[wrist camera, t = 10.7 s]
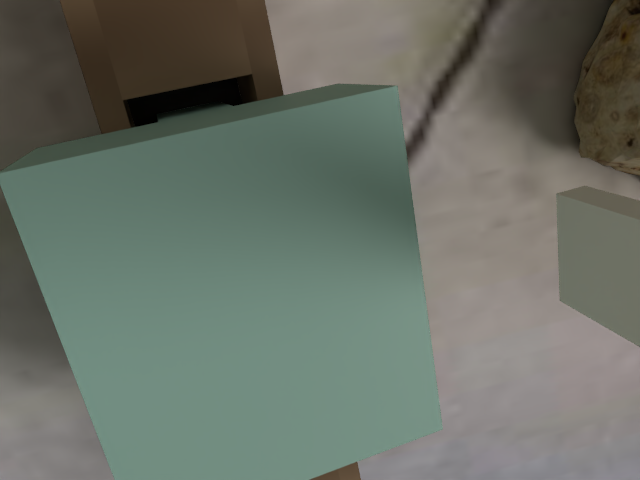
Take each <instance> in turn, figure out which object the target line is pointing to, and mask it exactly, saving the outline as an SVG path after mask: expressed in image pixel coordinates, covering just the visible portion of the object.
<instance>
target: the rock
mask: <svg viewBox="0 0 640 480" xmlns="http://www.w3.org/2000/svg"><path fill="white" fill-rule="evenodd" d="M573 99H574V101H575V104H576V107H577V108H576V114H575V120H574V123H575V126H576V128H577V131H578V134H579V137H580V147H579V153H580V156H581V157H586V158H591V159H592V160H594V161H596V162H598V163H600V164H602V165H604V166H611V167H612V168H614V169H615V170H619V171H622V172H626V173H630V174H635V175H639V176H640V0H614V1H613V3H612V5H611V6H610V8H609V10H608V13H607V16H606V19H605V21H604V24H603V27H602V29H601V31H600V33H599V35H598V37H597V38H596V40H595V42H594V43H593V45H592V46H591V48H590V50H589V51H588V53H587V55H586V57H585V58H584V60H583V64H582V68H581V73H580V78H579V81H578V85H577V88H576V91H575V94H574V98H573Z"/></svg>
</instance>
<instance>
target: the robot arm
mask: <svg viewBox="0 0 640 480" xmlns="http://www.w3.org/2000/svg"><path fill="white" fill-rule="evenodd" d="M556 198H557V229H558V260H559V290H560V301H561V302H563V303H565V304H567V305H568V306H570V307H572V308H574V309H575V310H577V311H579V312H580V313H582V314H584V315H586V316H587V317H589V318H591V319H593V320H594V321H596V322H598V323H599V324H601V325H603V326H605V327H606V328H608V329H610V330H612V331H613V332H615V333H617V334H618V335H620V336H622V337H624V338H625V339H627V340H629V341H631V342H632V343H634V344H636V345H637V346H639V347H640V201H638V200H634V199H631V198H627V197H624V196H620V195H616V194H613V193H609V192H606V191H602V190H598V189H595V188H591V187H587V186H582V187H579V188H575V189H572V190H568V191H564V192H561V193H557V194H556Z"/></svg>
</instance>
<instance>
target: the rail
mask: <svg viewBox="0 0 640 480" xmlns="http://www.w3.org/2000/svg"><path fill="white" fill-rule="evenodd" d="M60 3H61V6H62V9H63V13H64V16H65V19H66V22H67V25H68V28H69V32H70V35H71V38H72V41H73V44H74V47H75V51H76V54H77V57H78V60H79V63H80V66H81V70H82V73H83V76H84V79H85V82H86V86H87V89H88V92H89V95H90V98H91V101H92V105H93V108H94V111H95V114H96V117H97V120H98V124H99V127H100V130H101V133H102V134H105V133H110V132H115V131H119V130H124V129H129V128H133V127H135V125H134V121H133V118H132V114H131V111H130V108H129V104H128V101H127V99H131V98H136V97H141V96H146V95H151V94H156V93H161V92H166V91H171V90H176V89H181V88H186V87H190V86H195V85H200V84H205V83H210V82H215V81H220V80H225V79H230V78H235V77H236V78H237V82H238V87H239V91H240V96H241V100H242V104H246V103H250V102H255V101H260V100H264V99H269V98H274V97H278V96H283V90H282V85H281V80H280V75H279V70H278V65H277V60H276V55H275V50H274V45H273V40H272V35H271V30H270V25H269V20H268V15H267V10H266V5H265V0H60ZM310 480H361V478H360V473H359V469H358V464H357V462H355V463H352V464H349V465H347V466H344V467H341V468H339V469H336V470H333V471H331V472H328V473H325V474H323V475H320V476H318V477H315V478H312V479H310Z"/></svg>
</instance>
